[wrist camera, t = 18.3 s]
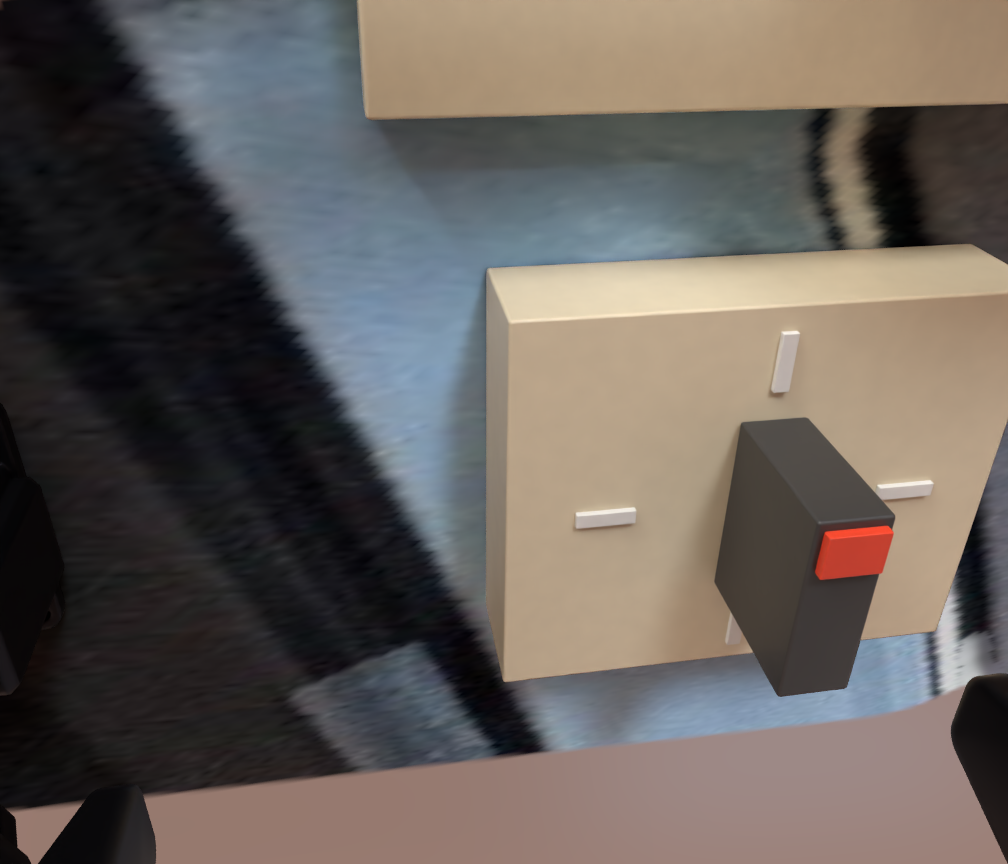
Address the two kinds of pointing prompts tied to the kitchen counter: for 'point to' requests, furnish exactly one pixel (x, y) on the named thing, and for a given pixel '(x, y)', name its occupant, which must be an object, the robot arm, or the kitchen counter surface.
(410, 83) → the stove top
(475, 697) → the kitchen counter surface
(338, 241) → the kitchen counter surface
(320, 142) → the kitchen counter surface
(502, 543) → the control panel
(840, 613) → the block with red tab
